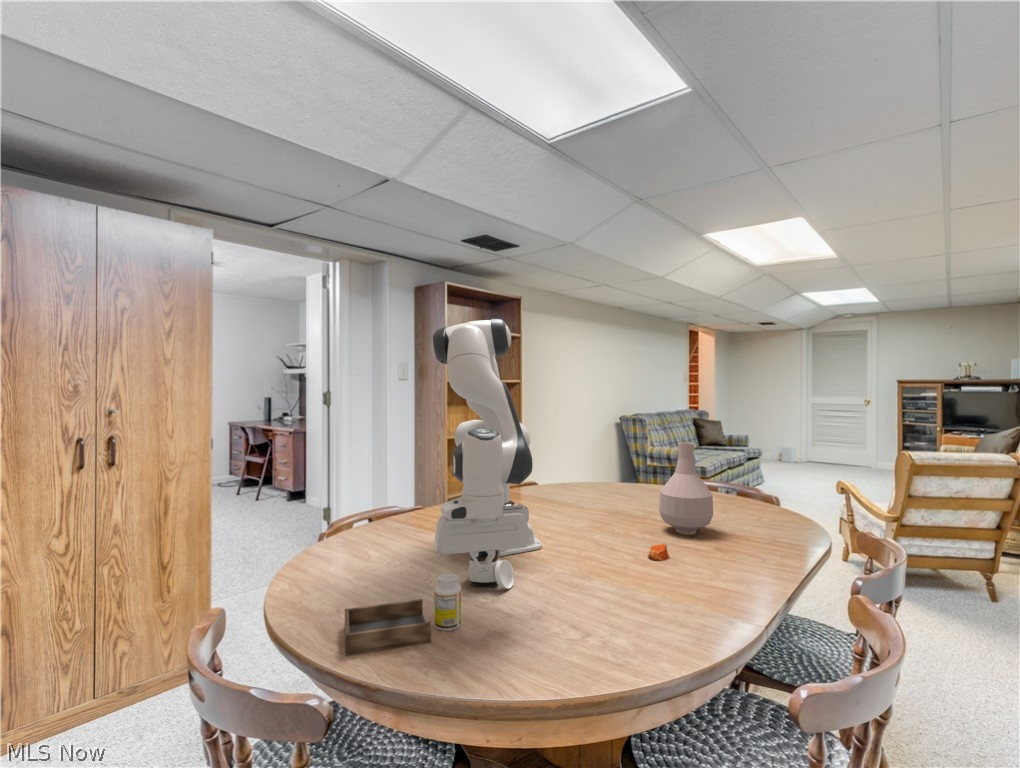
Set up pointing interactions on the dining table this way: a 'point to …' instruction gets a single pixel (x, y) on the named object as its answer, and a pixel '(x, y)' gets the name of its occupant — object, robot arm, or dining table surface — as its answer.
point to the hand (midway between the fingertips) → (482, 571)
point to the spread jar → (492, 572)
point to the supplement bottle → (447, 603)
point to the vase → (686, 495)
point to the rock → (658, 552)
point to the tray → (385, 627)
